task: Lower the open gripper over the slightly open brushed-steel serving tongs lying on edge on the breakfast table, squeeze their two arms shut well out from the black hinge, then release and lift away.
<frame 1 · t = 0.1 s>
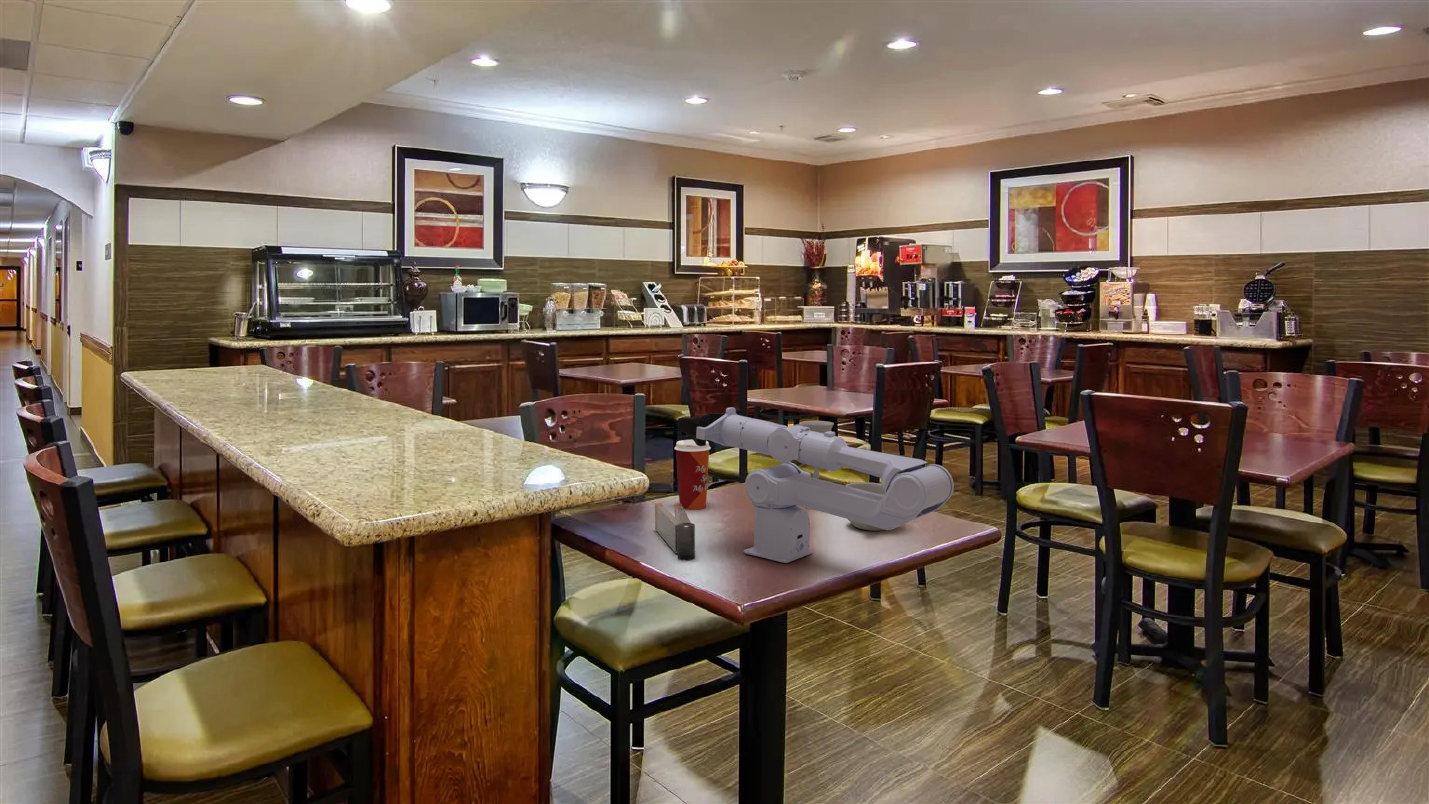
hand: (693, 421, 170), 22 cm above the table, tool horizontal, fingers open, 7 cm apart
tongs moving arm: (667, 526, 167), point 3 cm above the table, hinge at 7.0°
tongs fixed arm: (686, 557, 157), on the table
chalice: (815, 507, 194), on the table
paper cup: (692, 507, 194), on the table
teacup: (869, 529, 176), on the table
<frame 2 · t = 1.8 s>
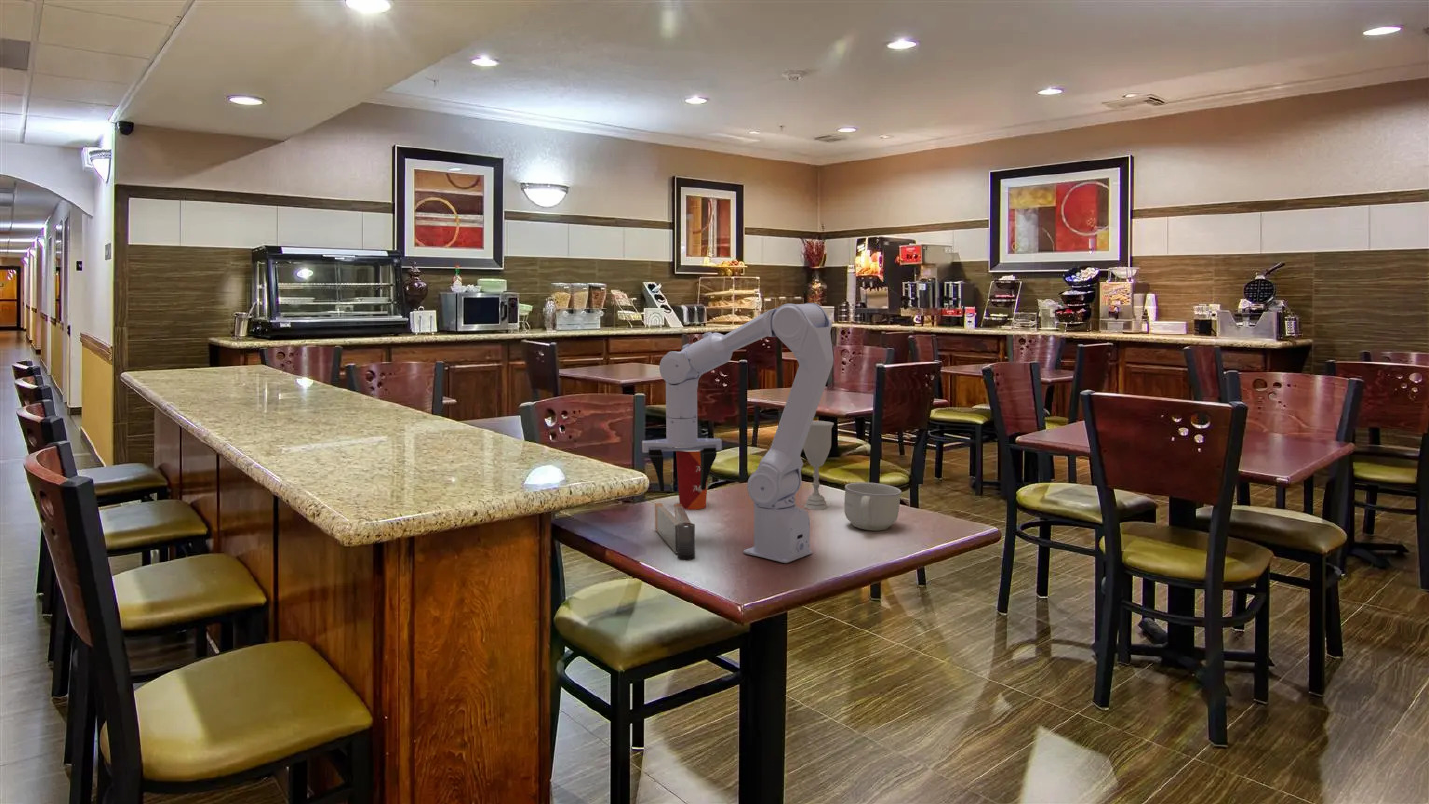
hand: (682, 489, 168), 9 cm above the table, tool pointing down, fingers open, 7 cm apart
nothing on the table moved.
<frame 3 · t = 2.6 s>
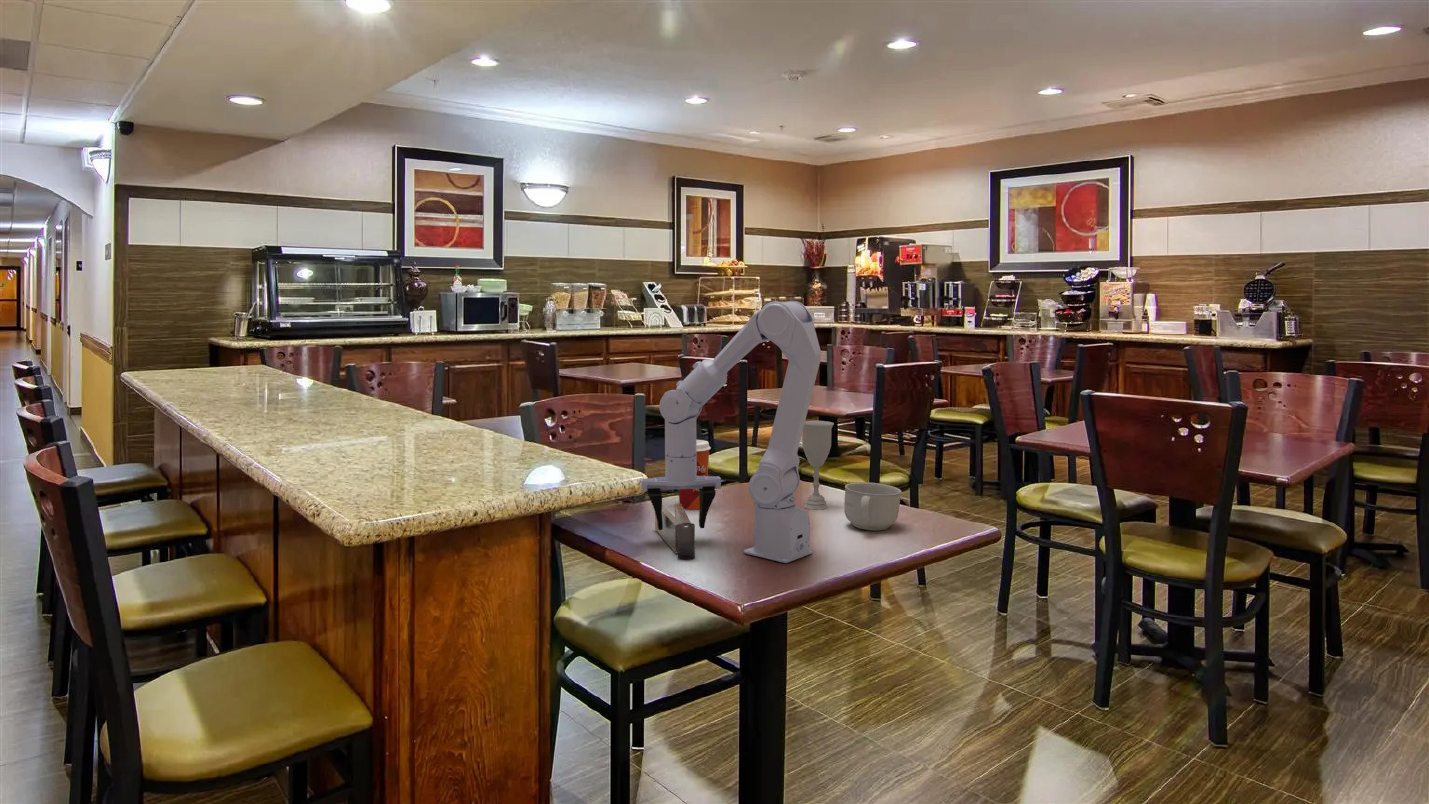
hand: (681, 527, 167), 3 cm above the table, tool pointing down, fingers open, 7 cm apart
nothing on the table moved.
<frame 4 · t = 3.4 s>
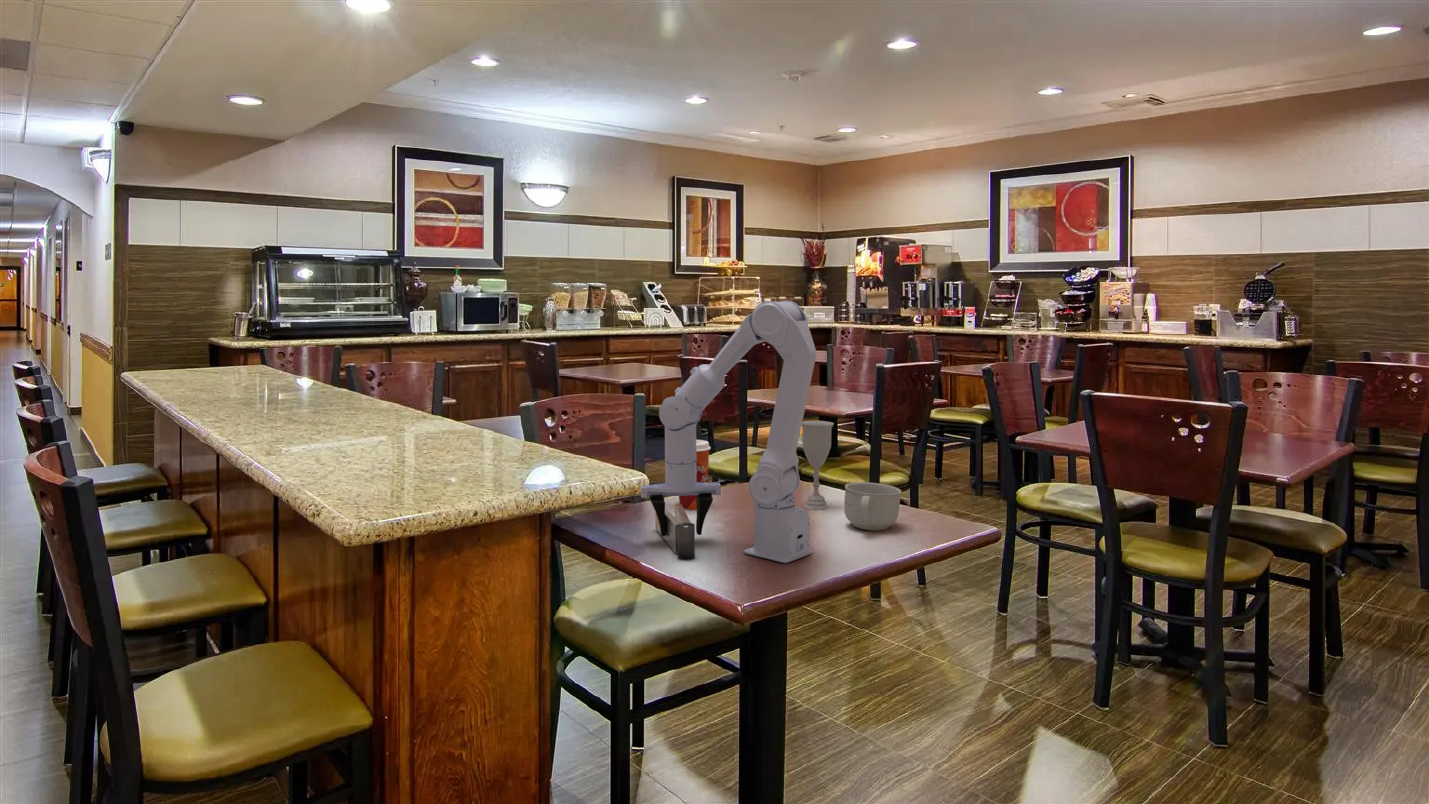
hand: (681, 534, 167), 1 cm above the table, tool pointing down, fingers open, 6 cm apart
tongs moving arm: (668, 526, 167), point 3 cm above the table, hinge at 6.7°, touching gripper
everything else where it was.
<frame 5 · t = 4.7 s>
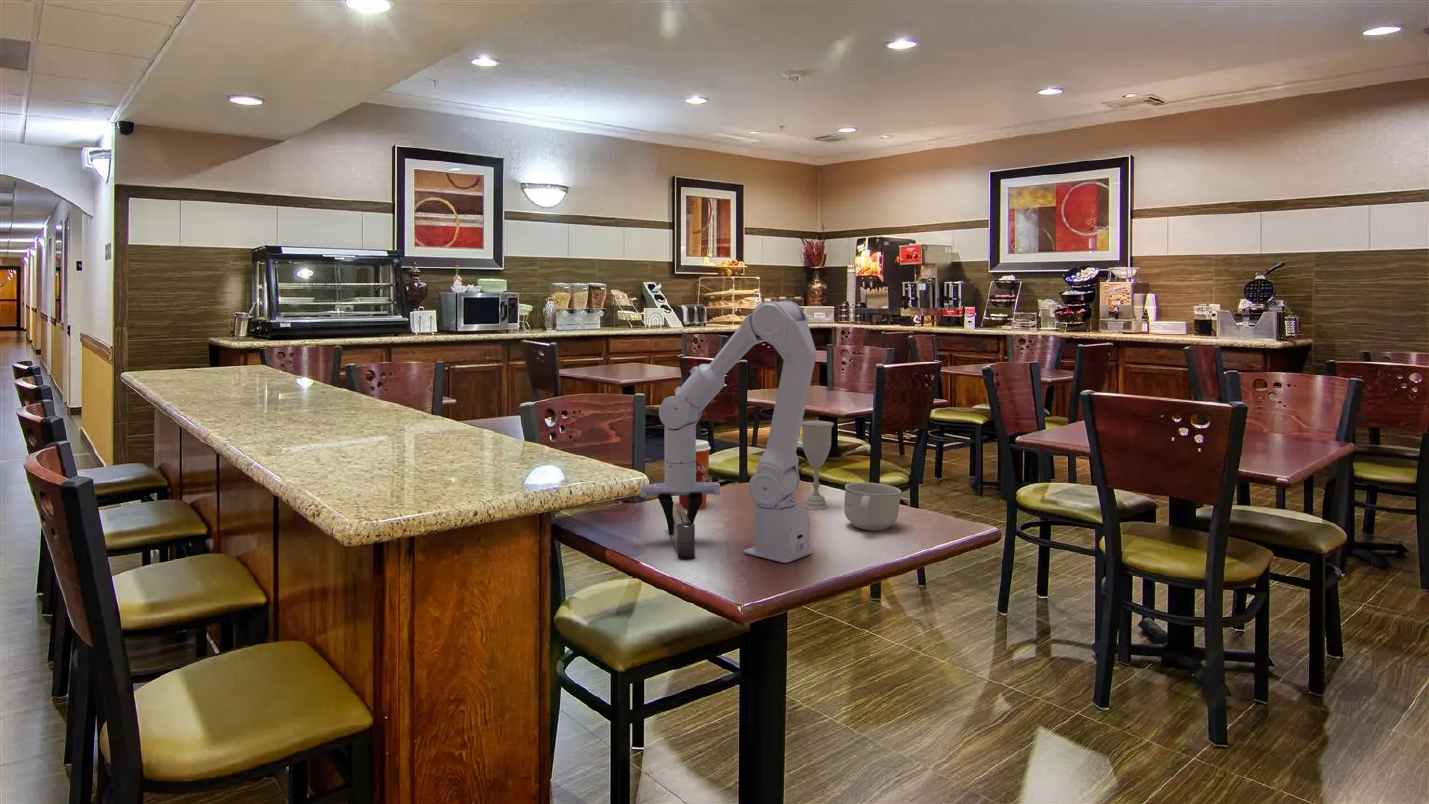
hand: (680, 533, 167), 1 cm above the table, tool pointing down, fingers open, 3 cm apart
tongs moving arm: (675, 526, 167), point 3 cm above the table, hinge at -0.6°, touching gripper
everything else where it was.
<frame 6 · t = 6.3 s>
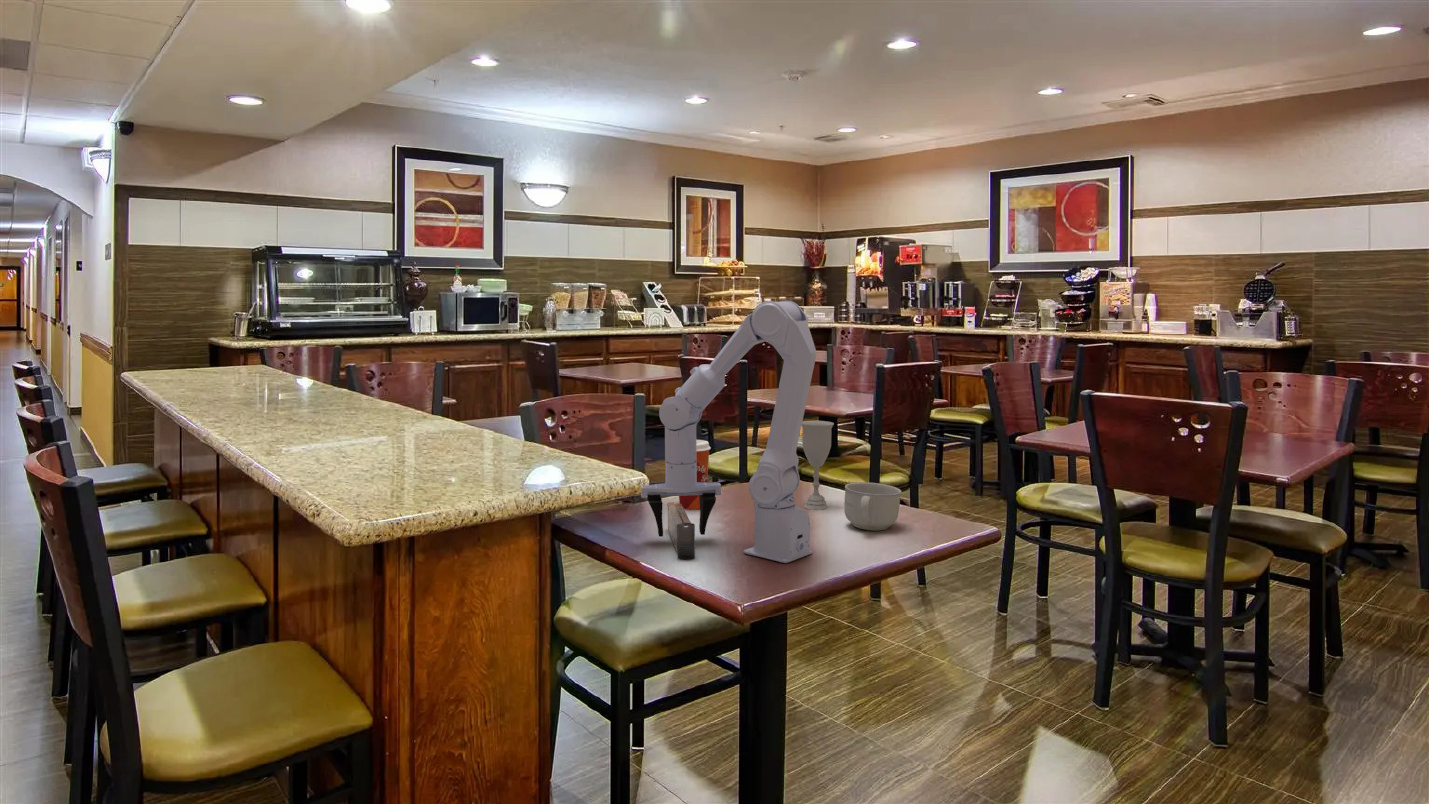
hand: (681, 534, 167), 1 cm above the table, tool pointing down, fingers open, 7 cm apart
tongs moving arm: (675, 526, 167), point 3 cm above the table, hinge at -0.6°
everything else where it was.
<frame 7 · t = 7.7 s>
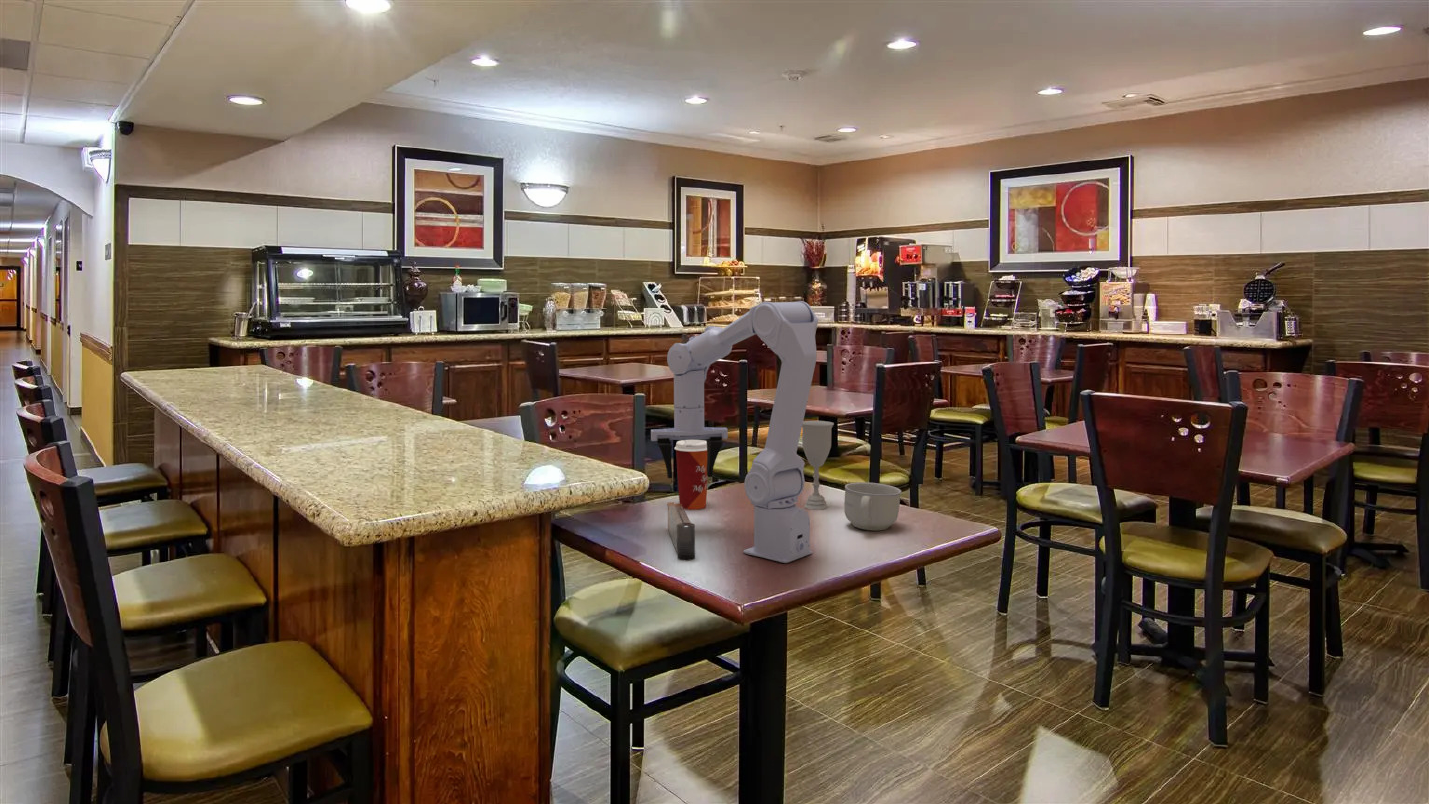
hand: (689, 476, 174), 10 cm above the table, tool pointing down, fingers open, 7 cm apart
nothing on the table moved.
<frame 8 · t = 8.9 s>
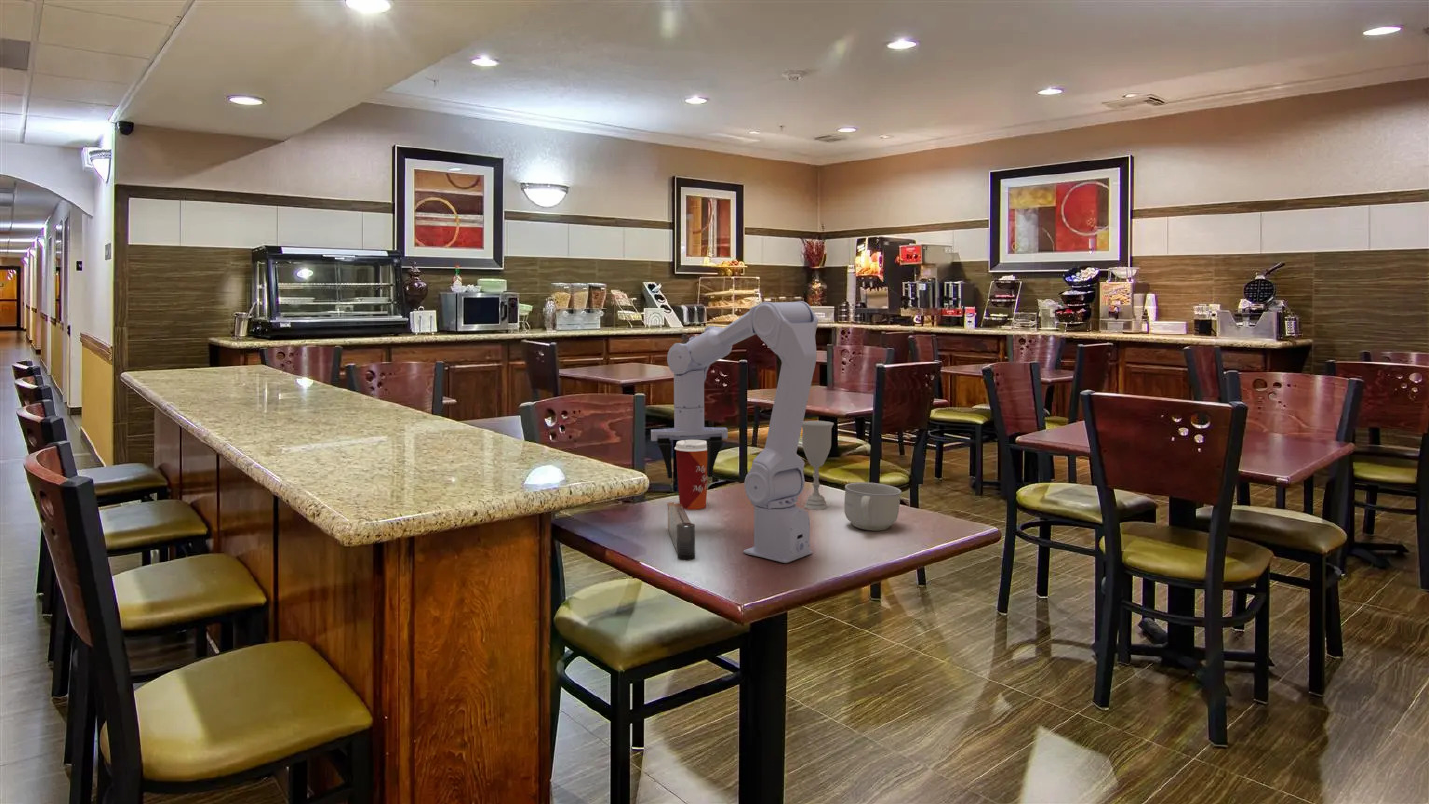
hand: (689, 476, 174), 10 cm above the table, tool pointing down, fingers open, 7 cm apart
nothing on the table moved.
at the end: tongs moving arm at -1° (first picture: +7°); the gripper is holding nothing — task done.
